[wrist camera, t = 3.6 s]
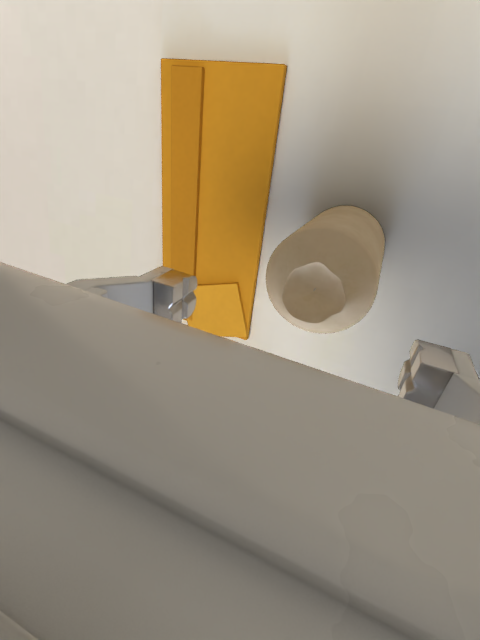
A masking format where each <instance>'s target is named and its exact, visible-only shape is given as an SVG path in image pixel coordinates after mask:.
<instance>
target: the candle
mask: <svg viewBox="0 0 480 640" xmlns="http://www.w3.org/2000/svg"><path fill="white" fill-rule="evenodd" d="M384 248H385V239H384V234H383V231H382V228H381V226H380V224H379V223H378V221H377V220H376V219H375V218H374V217H373V216H372V215H371V214H370V213H368V212H367V211H365V210H363V209H361V208H358V207H354V206H336V207H333V208H330V209H328V210H326V211H324V212H322V213H320V214H319V215H318V216H316V217H315V218H313V219H312V220H311V221H309V222H308V223H306V224H305V225H304V226H302V227H301V228H300V229H298V230H297V231H295V232H294V233H293V234H291V235H290V236H289V237H287V238H286V239H285V240H283V241H282V242H281V243H280V244H279V245H278V246H277V248H276V249H275V250H274V252H273V254H272V255H271V257H270V260H269V262H268V266H267V270H266V287H267V292H268V295H269V298H270V300H271V302H272V304H273V306H274V307H275V309H276V310H277V311H278V313H279V314H280V315H281V316H282V317H283V318H284V319H285V320H287V321H288V322H289V323H291V324H292V325H294V326H296V327H298V328H300V329H303V330H305V331H309V332H313V333H325V334H326V333H335V332H339V331H342V330H345V329H347V328H349V327H351V326H353V325H355V324H356V323H358V322H359V321H360V320H361V319H362V318H363V317H364V316H365V315H366V314H367V313H368V311H369V310H370V308H371V307H372V305H373V303H374V300H375V297H376V294H377V289H378V284H379V278H380V272H381V267H382V261H383V255H384Z"/></svg>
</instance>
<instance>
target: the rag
mask: <svg viewBox="0 0 480 640" xmlns="http://www.w3.org/2000/svg"><path fill="white" fill-rule="evenodd" d="M286 70H287V66H286V65H285V64H269V63H248V62H227V61H206V60H186V59H165V58H162V59H161V114H162V225H163V266H164V267H168V268H172V269H174V270H177V271H180V272H183V273H187V274H190V275H193V276H196V278H197V288H196V289H195V291H194V294H195V296H196V306H195V309H194V311H193V313H192V315H191V316H190V317H188V318H186V319H184V320H187V322H188V326H191V327H194V328H197V329H200V330H203V331H206V332H209V333H211V334H214V335H217V336H225V337H238V338H241V339H244V340H247V339H248V337H249V330H250V323H251V316H252V309H253V302H254V295H255V288H256V281H257V273H258V266H259V259H260V252H261V245H262V238H263V231H264V224H265V217H266V210H267V203H268V196H269V189H270V182H271V175H272V168H273V161H274V154H275V147H276V140H277V133H278V126H279V119H280V112H281V105H282V98H283V91H284V84H285V77H286Z"/></svg>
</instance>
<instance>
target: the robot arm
mask: <svg viewBox="0 0 480 640" xmlns="http://www.w3.org/2000/svg"><path fill="white" fill-rule="evenodd" d="M196 288H197V278H196V276H193V275H190V274H187V273H183V272H180V271H177V270H174V269H172V268H168V267H164V266H161V267H158V268H156V269H154V270H152V271H150V272H148V273H145V274H143V275H141V276H139V277H138V276H125V277H110V278H96V279H81V280H75V281H72V282H70V283H67V284H64V283H61V282H58V281H55V280H52V279H49V278H46V277H43V276H40V275H37V274H34V273H31V272H28V271H25V270H22V269H19V268H16V267H13V266H11V265H8V264H5V263H2V262H0V640H480V381H479V378H478V376H477V373H476V371H475V368H474V366H473V363H472V361H471V358H470V355H469V354H468V353H465V352H461V351H457V350H453V349H451V348H448V347H444V346H440V345H436V344H433V343H429V342H425V341H421V340H415V341H414V343H413V344H412V347H411V349H410V351H409V352H410V359H409V360H407V361H405V362H404V364H403V366H402V369H401V371H400V375H399V378H398V389H399V390H400V393H399V395H398V396H395V395H392V394H389V393H386V392H383V391H380V390H377V389H374V388H371V387H368V386H365V385H362V384H359V383H356V382H353V381H350V380H347V379H344V378H342V377H339V376H336V375H333V374H330V373H327V372H324V371H321V370H318V369H315V368H312V367H309V366H306V365H303V364H300V363H297V362H294V361H291V360H288V359H285V358H282V357H279V356H277V355H274V354H271V353H268V352H265V351H262V350H259V349H256V348H253V347H250V346H247V345H244V344H241V343H238V342H235V341H232V340H229V339H226V338H223V337H220V336H217V335H214V334H211V333H209V332H206V331H203V330H200V329H197V328H194V327H191V326H188V325H185V324H182V323H181V321H182V319H186V318H188V317H190V316H191V315H192V313H193V311H194V309H195V306H196V296H195V294H194V291H195V289H196Z"/></svg>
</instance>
